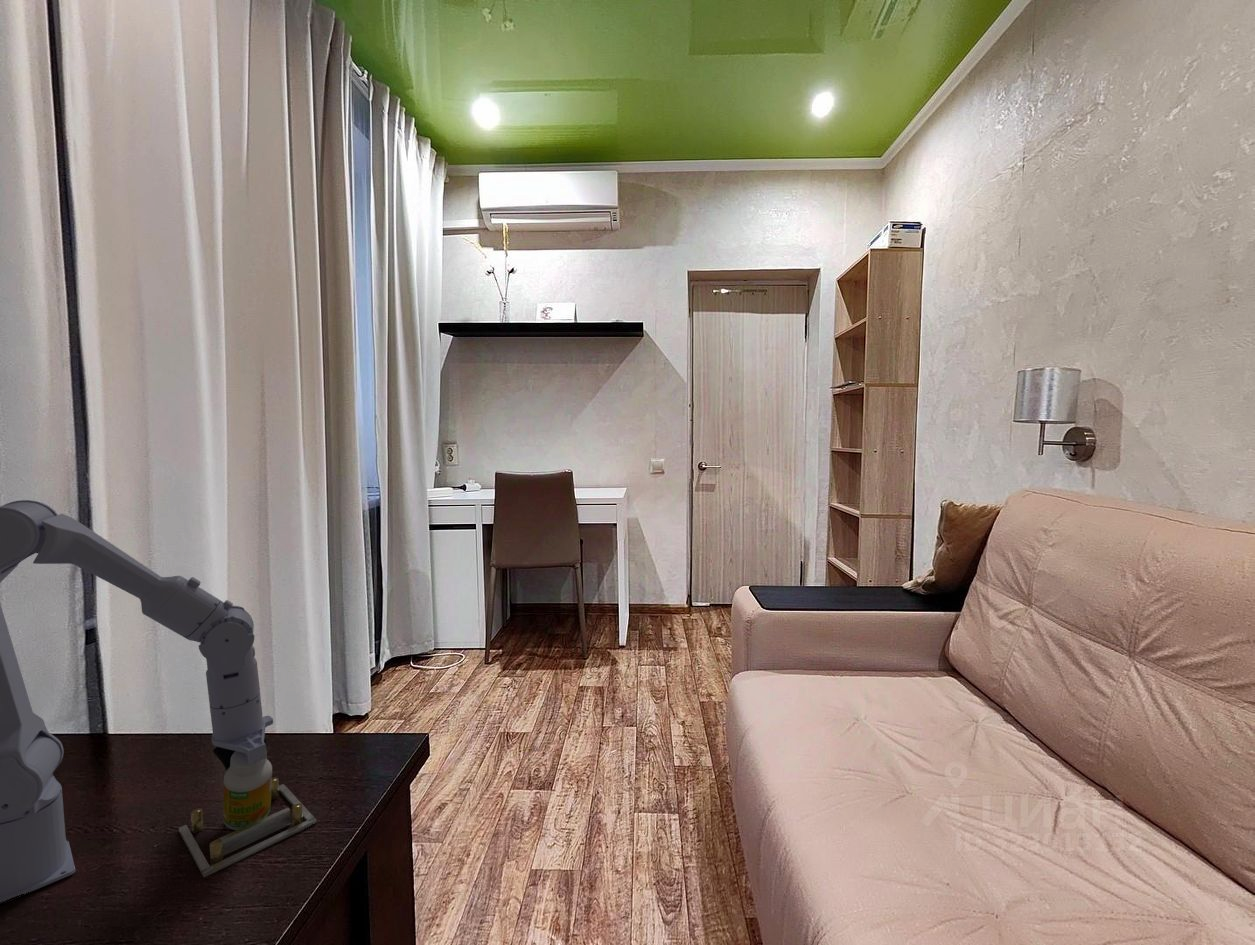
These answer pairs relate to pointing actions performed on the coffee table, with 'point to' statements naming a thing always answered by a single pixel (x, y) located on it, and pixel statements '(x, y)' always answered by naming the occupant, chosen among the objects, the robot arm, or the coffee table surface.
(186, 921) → the coffee table surface
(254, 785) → the supplement bottle
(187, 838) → the frame
